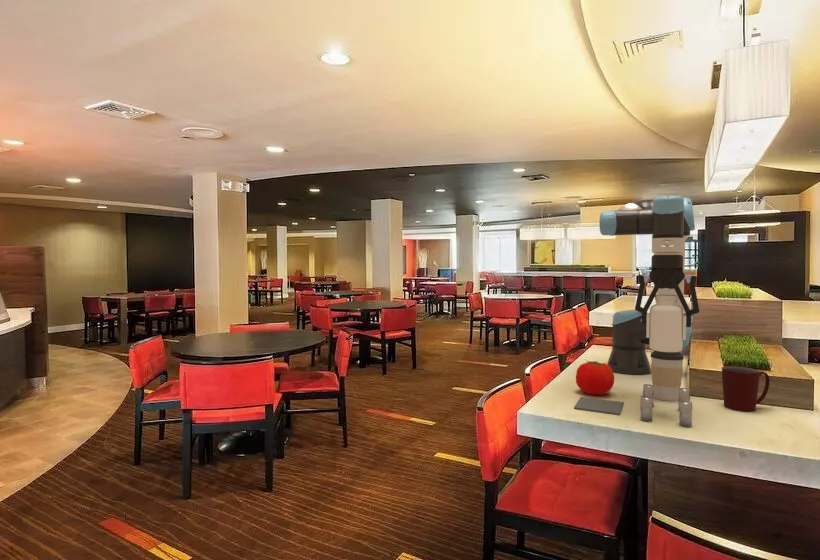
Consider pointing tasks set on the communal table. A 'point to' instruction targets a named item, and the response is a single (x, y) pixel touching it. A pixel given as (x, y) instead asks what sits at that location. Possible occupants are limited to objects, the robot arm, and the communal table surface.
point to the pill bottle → (666, 324)
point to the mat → (599, 405)
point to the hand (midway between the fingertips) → (665, 338)
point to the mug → (742, 387)
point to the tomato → (595, 378)
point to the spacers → (683, 405)
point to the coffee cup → (666, 374)
